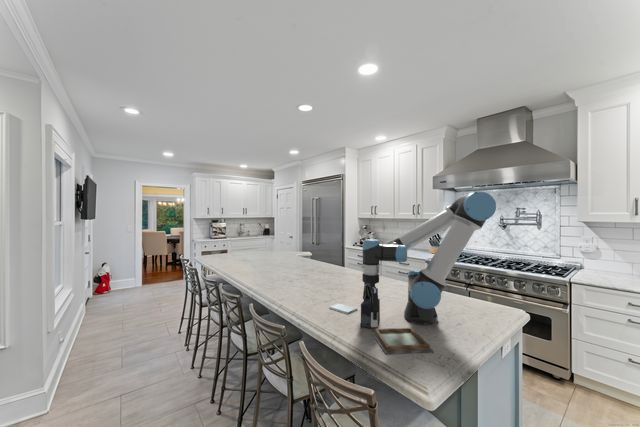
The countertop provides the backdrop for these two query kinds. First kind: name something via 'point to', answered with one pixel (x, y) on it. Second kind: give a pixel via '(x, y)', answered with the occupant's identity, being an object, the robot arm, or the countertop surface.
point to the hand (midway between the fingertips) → (370, 321)
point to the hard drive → (343, 308)
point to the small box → (367, 313)
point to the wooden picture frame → (400, 341)
